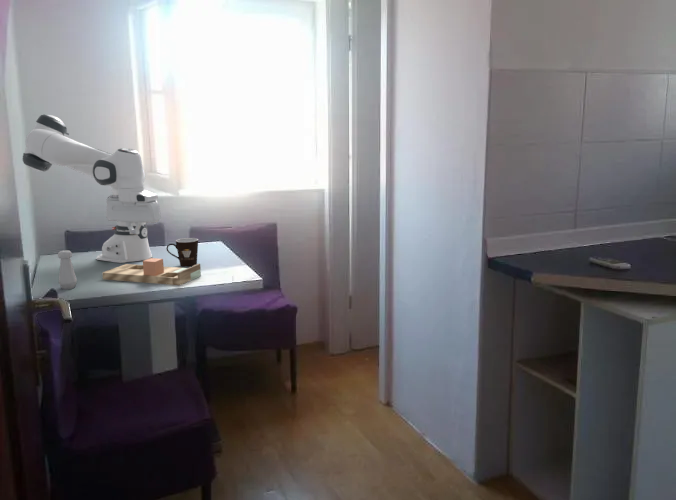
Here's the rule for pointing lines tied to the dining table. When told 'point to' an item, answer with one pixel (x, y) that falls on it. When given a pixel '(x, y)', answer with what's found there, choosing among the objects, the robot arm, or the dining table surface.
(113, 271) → the trap box
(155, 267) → the block
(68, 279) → the salt shaker
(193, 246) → the coffee mug
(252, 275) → the dining table surface
